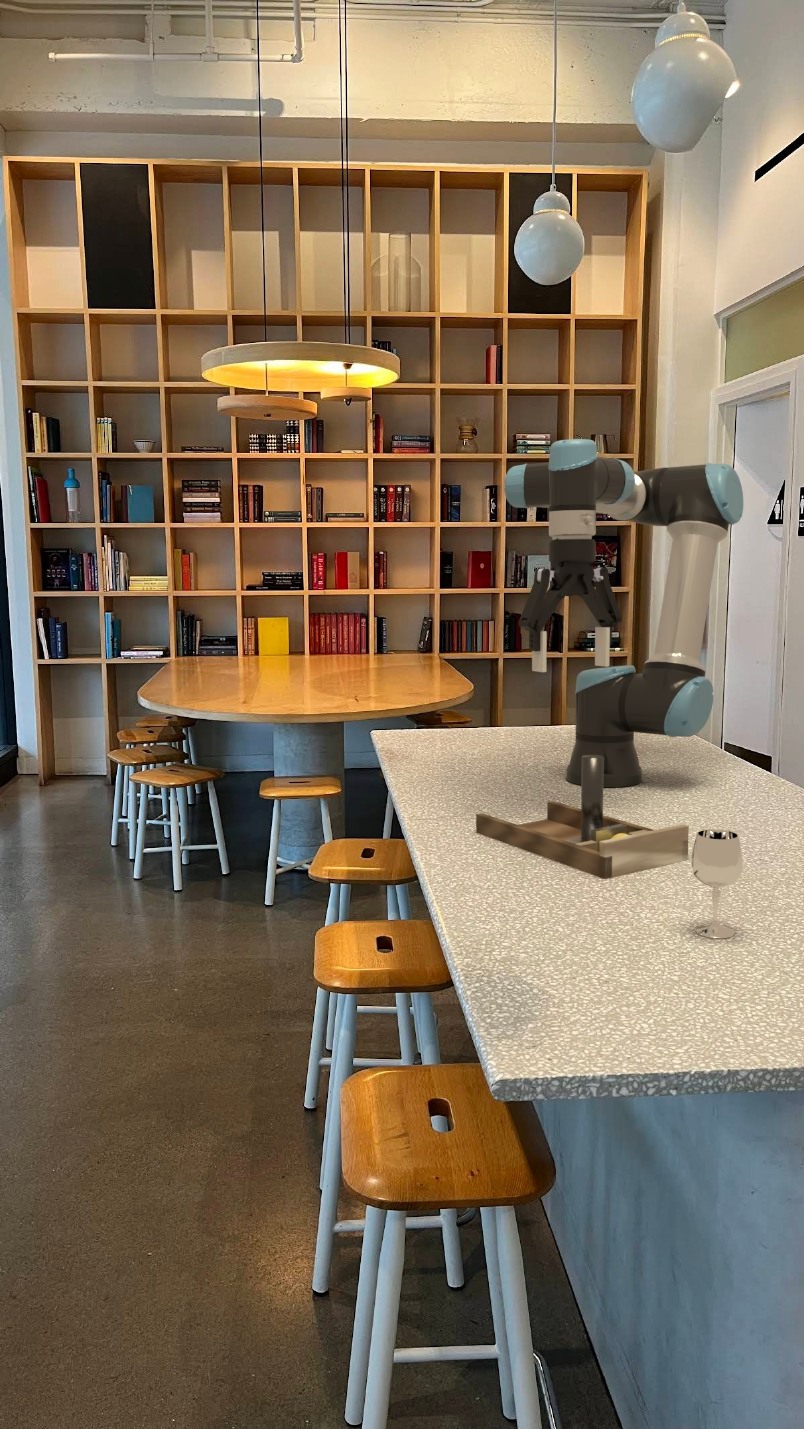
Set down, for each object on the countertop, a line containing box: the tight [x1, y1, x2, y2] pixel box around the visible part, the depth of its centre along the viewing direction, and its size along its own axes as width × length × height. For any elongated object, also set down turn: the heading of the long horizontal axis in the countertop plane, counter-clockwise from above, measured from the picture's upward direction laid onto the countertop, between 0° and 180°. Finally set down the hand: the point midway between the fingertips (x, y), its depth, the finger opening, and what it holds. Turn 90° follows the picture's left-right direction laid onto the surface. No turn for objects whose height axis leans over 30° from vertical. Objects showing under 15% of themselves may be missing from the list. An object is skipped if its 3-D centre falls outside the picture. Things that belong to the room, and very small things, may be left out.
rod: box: [565, 755, 627, 852], centre depth 152 cm, size 7×9×14 cm
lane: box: [475, 800, 690, 880], centre depth 156 cm, size 30×16×6 cm, turn 32°
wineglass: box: [691, 829, 744, 940], centre depth 121 cm, size 6×6×12 cm
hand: (571, 668), depth 169 cm, fingers open, 13 cm apart
